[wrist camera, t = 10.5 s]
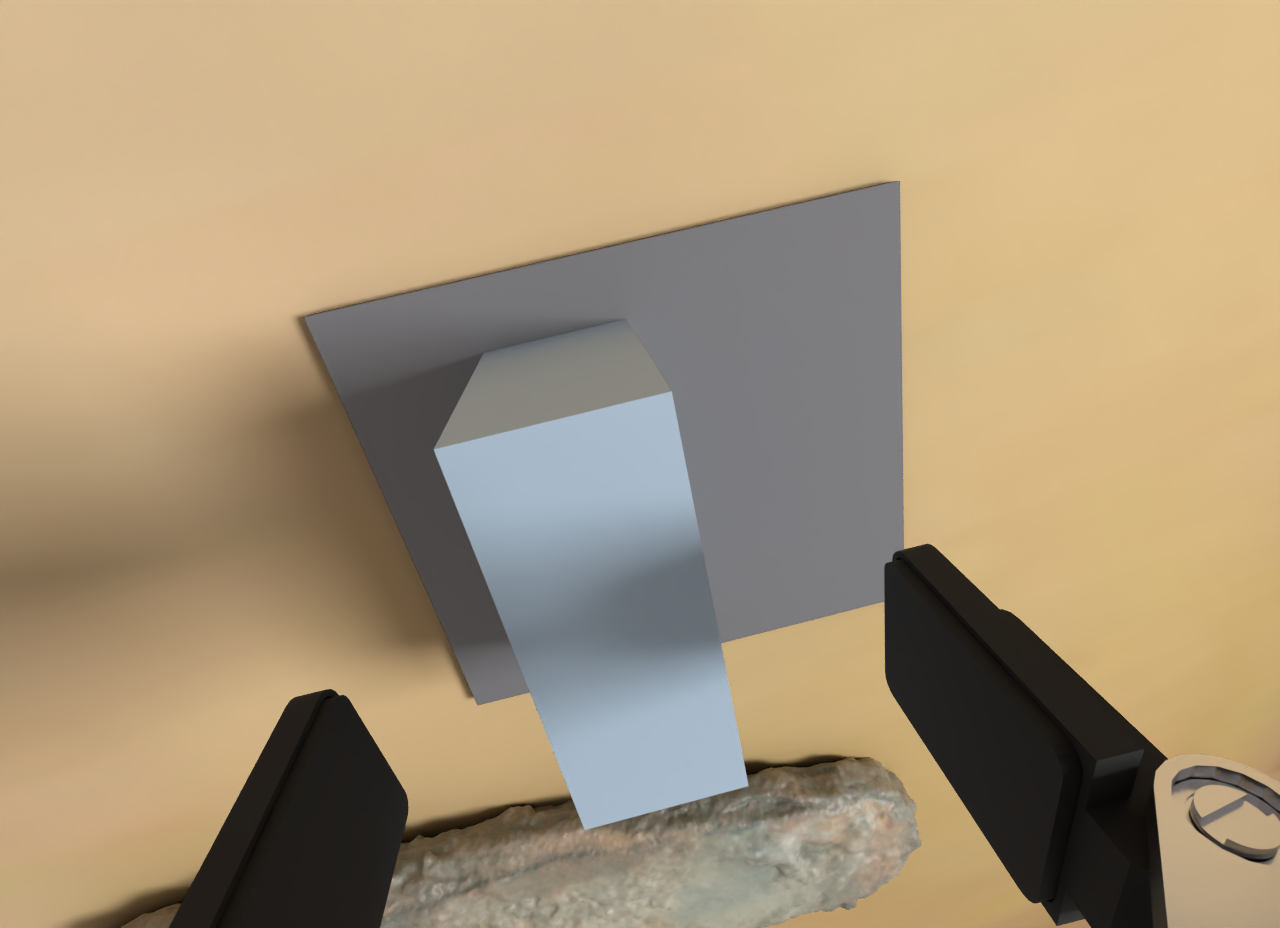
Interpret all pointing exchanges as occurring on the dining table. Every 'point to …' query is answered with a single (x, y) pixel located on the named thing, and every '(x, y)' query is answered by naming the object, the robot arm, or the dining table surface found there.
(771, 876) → the elongated rough stone
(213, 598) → the dining table surface
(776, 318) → the mat
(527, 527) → the pale blue upright box
